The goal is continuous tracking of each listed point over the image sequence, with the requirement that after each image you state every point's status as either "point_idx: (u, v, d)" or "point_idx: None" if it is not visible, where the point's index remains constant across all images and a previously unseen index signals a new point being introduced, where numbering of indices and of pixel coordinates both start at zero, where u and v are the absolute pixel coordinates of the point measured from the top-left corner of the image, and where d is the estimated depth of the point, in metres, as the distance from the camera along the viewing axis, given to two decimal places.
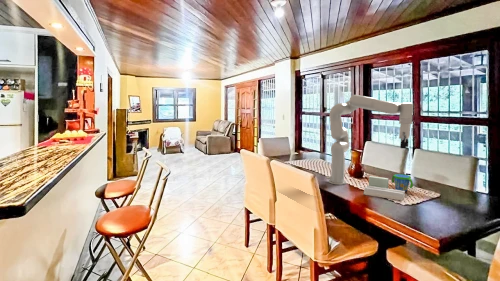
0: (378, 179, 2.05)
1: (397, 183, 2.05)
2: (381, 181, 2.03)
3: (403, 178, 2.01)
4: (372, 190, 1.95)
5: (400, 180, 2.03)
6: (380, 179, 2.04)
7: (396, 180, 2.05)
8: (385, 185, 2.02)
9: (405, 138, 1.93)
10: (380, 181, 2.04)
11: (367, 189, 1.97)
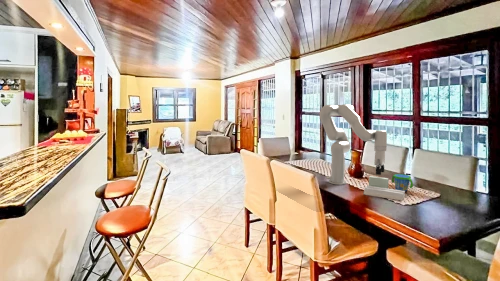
0: (378, 179, 2.05)
1: (397, 183, 2.05)
2: (381, 181, 2.03)
3: (403, 178, 2.01)
4: (372, 190, 1.95)
5: (400, 180, 2.03)
6: (380, 179, 2.04)
7: (396, 180, 2.05)
8: (385, 185, 2.02)
9: (380, 165, 2.00)
10: (380, 181, 2.04)
11: (367, 189, 1.97)
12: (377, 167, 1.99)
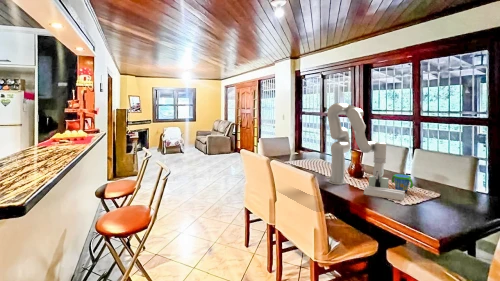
0: None
1: (397, 183, 2.05)
2: (381, 181, 2.03)
3: (403, 178, 2.01)
4: (372, 190, 1.95)
5: (400, 180, 2.03)
6: (380, 179, 2.04)
7: (396, 180, 2.05)
8: (385, 185, 2.02)
9: (379, 178, 2.03)
10: (380, 181, 2.04)
11: (367, 189, 1.97)
12: (377, 180, 2.03)
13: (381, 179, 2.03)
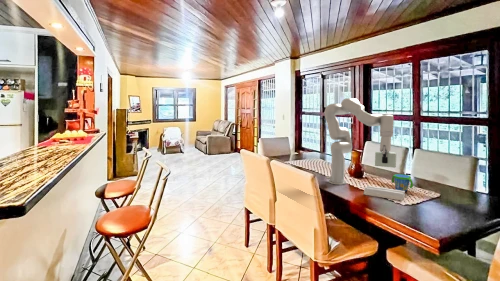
0: None
1: (397, 183, 2.05)
2: (389, 156, 1.90)
3: (403, 178, 2.01)
4: (372, 190, 1.95)
5: (400, 180, 2.03)
6: (387, 154, 1.90)
7: (396, 180, 2.05)
8: (393, 160, 1.89)
9: (386, 153, 1.89)
10: (387, 156, 1.91)
11: (367, 189, 1.97)
12: (384, 155, 1.90)
13: (388, 154, 1.90)
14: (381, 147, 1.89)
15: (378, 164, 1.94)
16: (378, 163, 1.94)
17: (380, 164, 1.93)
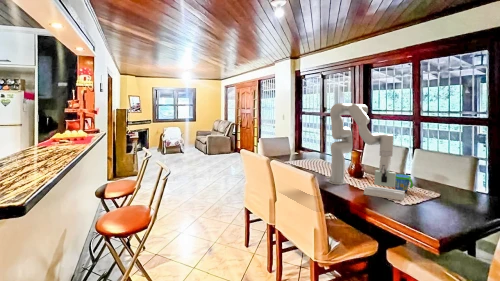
0: None
1: (397, 183, 2.05)
2: (388, 175, 1.90)
3: (403, 178, 2.01)
4: (372, 190, 1.95)
5: (400, 180, 2.03)
6: (387, 173, 1.91)
7: (396, 180, 2.05)
8: (392, 180, 1.89)
9: (385, 172, 1.90)
10: (387, 176, 1.91)
11: (367, 189, 1.97)
12: (383, 174, 1.90)
13: (388, 173, 1.90)
14: (380, 167, 1.89)
15: (377, 183, 1.95)
16: (377, 182, 1.95)
17: (379, 183, 1.94)
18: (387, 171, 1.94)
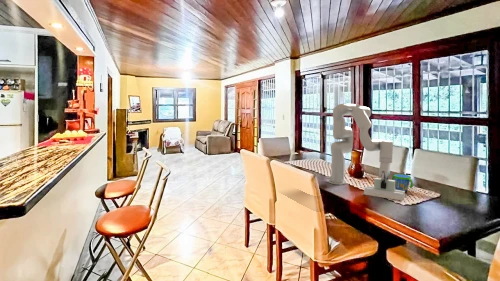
0: None
1: (397, 183, 2.05)
2: (388, 183, 1.91)
3: (403, 178, 2.01)
4: (372, 190, 1.95)
5: (400, 180, 2.03)
6: (386, 181, 1.91)
7: (396, 180, 2.05)
8: (392, 188, 1.90)
9: (385, 178, 1.89)
10: (386, 184, 1.91)
11: (367, 189, 1.97)
12: (382, 181, 1.89)
13: (387, 181, 1.91)
14: (380, 173, 1.90)
15: None
16: None
17: None
18: None
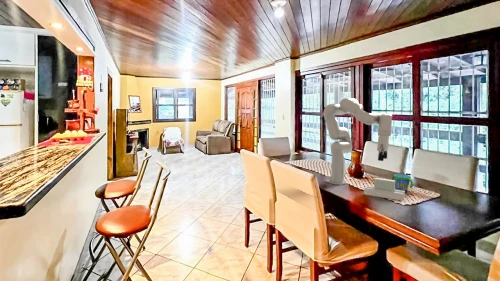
0: (384, 181, 1.92)
1: (397, 183, 2.05)
2: (388, 183, 1.91)
3: (403, 178, 2.01)
4: (372, 190, 1.95)
5: (400, 180, 2.03)
6: (386, 181, 1.91)
7: (396, 180, 2.05)
8: (392, 188, 1.90)
9: (383, 150, 1.89)
10: (386, 184, 1.91)
11: (367, 189, 1.97)
12: (380, 153, 1.88)
13: (387, 181, 1.91)
14: (378, 146, 1.90)
15: None
16: None
17: None
18: None
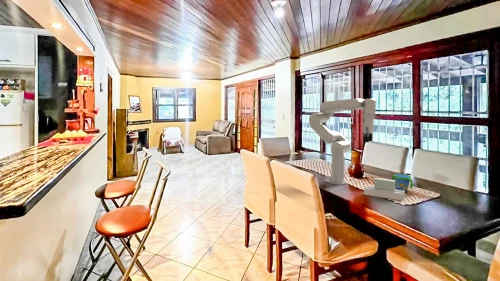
0: (384, 181, 1.92)
1: (397, 183, 2.05)
2: (388, 183, 1.91)
3: (403, 178, 2.01)
4: (372, 190, 1.95)
5: (400, 180, 2.03)
6: (386, 181, 1.91)
7: (396, 180, 2.05)
8: (392, 188, 1.90)
9: (368, 132, 2.03)
10: (386, 184, 1.91)
11: (367, 189, 1.97)
12: (365, 134, 2.02)
13: (387, 181, 1.91)
14: (364, 128, 2.04)
15: None
16: None
17: None
18: None
